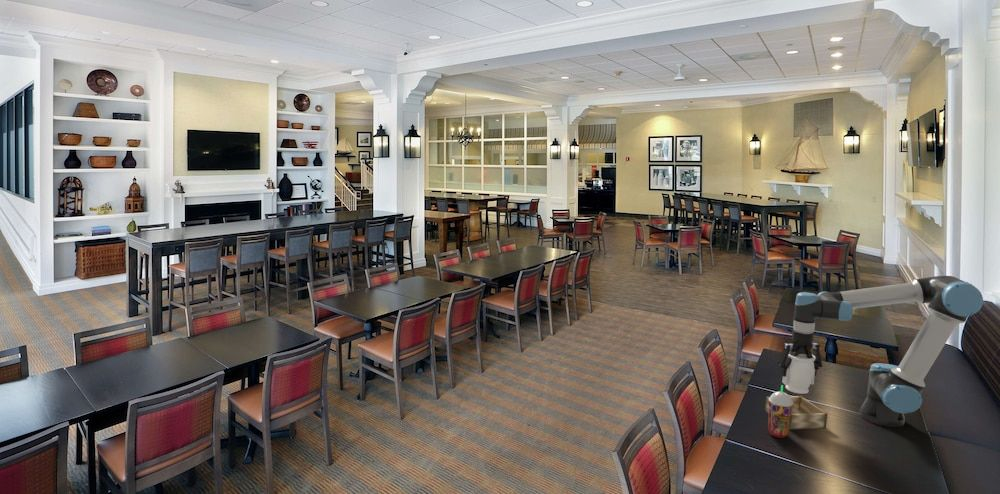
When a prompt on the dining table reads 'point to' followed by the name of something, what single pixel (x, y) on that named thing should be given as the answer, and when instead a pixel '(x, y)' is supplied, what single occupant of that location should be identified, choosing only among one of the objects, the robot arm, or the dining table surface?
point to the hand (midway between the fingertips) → (797, 383)
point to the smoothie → (779, 413)
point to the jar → (800, 373)
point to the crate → (804, 414)
